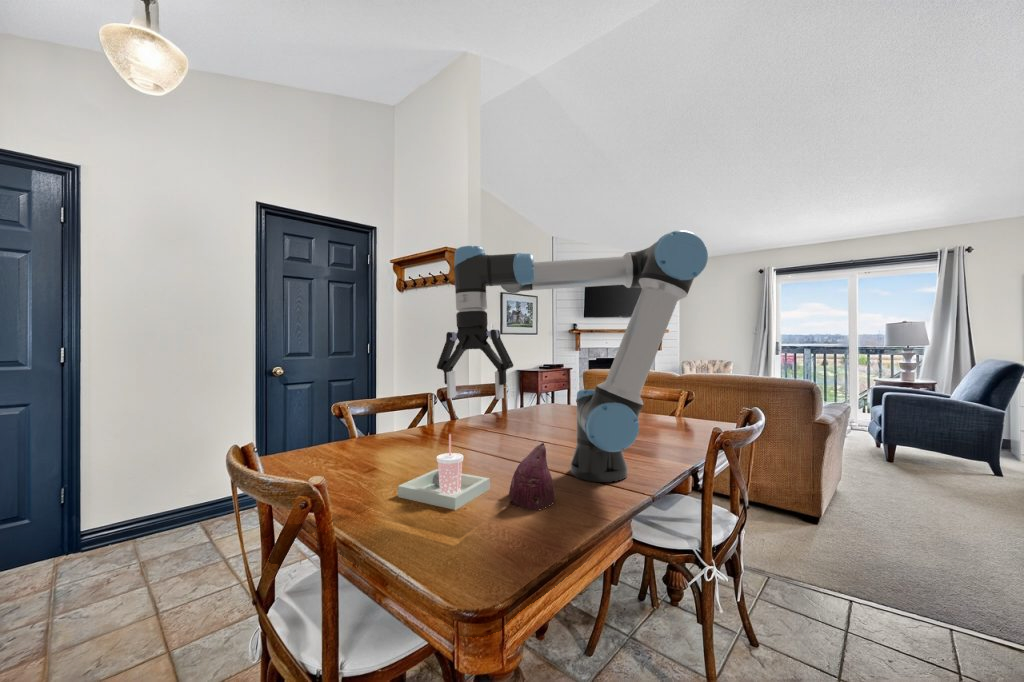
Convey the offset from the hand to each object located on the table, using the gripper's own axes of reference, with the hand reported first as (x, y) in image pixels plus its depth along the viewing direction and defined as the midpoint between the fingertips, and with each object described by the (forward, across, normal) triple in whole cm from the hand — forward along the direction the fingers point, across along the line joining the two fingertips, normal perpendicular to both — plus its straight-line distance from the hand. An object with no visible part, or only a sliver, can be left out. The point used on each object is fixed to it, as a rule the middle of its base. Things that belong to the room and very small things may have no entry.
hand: (475, 398), depth 101 cm
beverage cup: (+22, -3, -8) cm, 23 cm away
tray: (+22, -5, -7) cm, 24 cm away
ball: (+21, -9, -4) cm, 23 cm away
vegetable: (+23, +14, -1) cm, 27 cm away
